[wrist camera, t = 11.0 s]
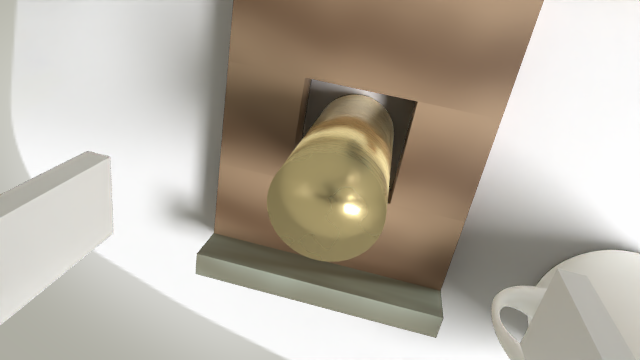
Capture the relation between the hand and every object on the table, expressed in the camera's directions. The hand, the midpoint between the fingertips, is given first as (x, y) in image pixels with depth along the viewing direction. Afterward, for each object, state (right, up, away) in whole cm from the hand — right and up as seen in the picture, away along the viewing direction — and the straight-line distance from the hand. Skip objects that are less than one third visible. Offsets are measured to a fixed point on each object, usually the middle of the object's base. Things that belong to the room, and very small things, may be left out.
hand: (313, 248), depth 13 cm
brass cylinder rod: (+2, +5, +12) cm, 13 cm away
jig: (+2, +5, +12) cm, 13 cm away
